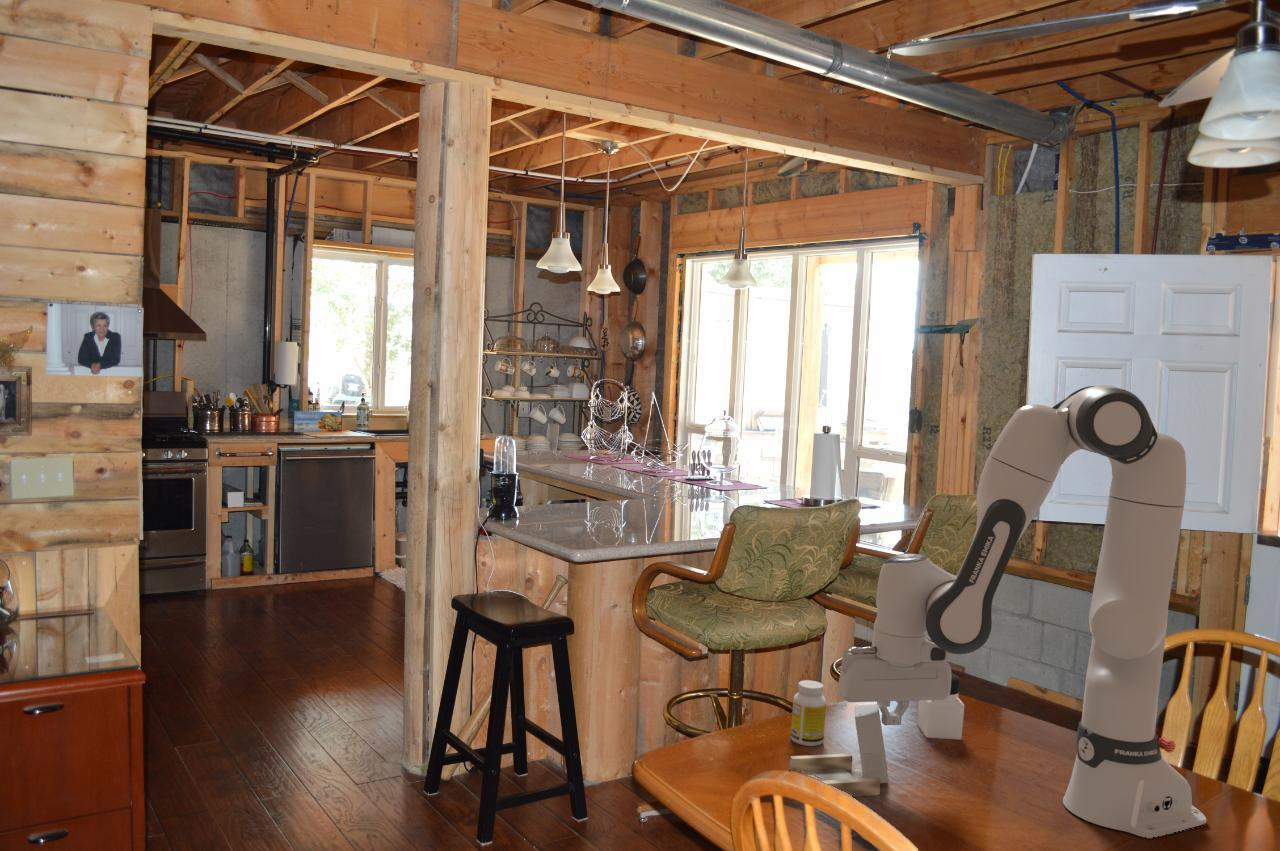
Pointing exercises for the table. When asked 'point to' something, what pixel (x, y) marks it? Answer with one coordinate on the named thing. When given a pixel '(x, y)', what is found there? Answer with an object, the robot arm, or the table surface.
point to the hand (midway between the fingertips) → (891, 724)
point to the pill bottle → (808, 714)
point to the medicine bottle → (943, 715)
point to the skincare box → (871, 742)
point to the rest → (835, 773)
